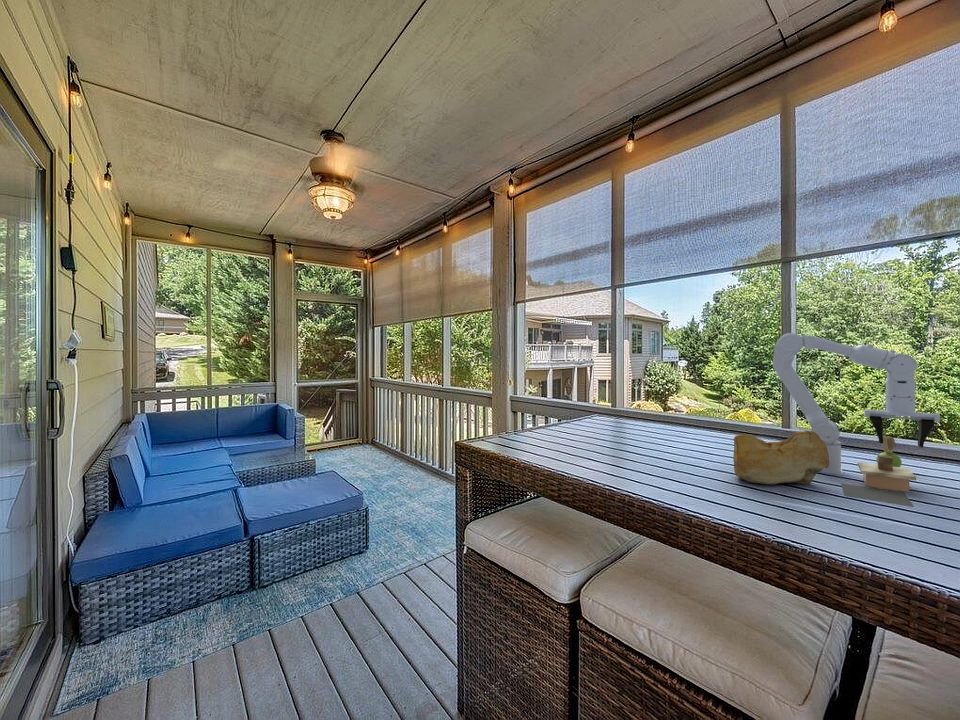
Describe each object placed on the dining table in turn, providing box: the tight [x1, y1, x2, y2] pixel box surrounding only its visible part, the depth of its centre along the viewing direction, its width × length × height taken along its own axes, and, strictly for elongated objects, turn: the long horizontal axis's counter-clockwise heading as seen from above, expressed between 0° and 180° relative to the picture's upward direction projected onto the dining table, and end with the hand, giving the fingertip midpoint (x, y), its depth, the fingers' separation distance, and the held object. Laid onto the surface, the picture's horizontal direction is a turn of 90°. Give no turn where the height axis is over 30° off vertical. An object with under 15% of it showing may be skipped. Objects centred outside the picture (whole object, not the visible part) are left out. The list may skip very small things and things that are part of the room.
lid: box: [857, 454, 917, 481], centre depth 106 cm, size 10×10×4 cm
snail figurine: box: [876, 432, 903, 467], centre depth 122 cm, size 5×6×12 cm
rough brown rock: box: [732, 430, 829, 485], centre depth 115 cm, size 23×16×15 cm
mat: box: [840, 483, 915, 508], centre depth 100 cm, size 12×12×1 cm
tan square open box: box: [862, 473, 910, 493], centre depth 107 cm, size 8×8×4 cm
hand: (900, 444), depth 111 cm, fingers open, 7 cm apart
